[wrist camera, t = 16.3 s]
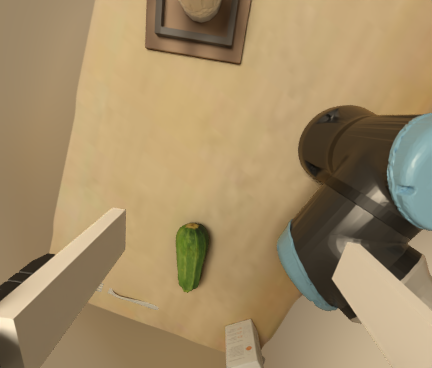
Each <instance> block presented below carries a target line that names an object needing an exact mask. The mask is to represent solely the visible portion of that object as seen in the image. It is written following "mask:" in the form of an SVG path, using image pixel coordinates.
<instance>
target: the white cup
mask: <svg viewBox="0 0 432 368" xmlns="http://www.w3.org/2000/svg"><path fill="white" fill-rule="evenodd" d="M221 1H222V0H179V2H180V4H181V5H182V7H183V9H184V11H185V14H186V15H188V16H189V17H190V18H191V19H192V20H193V21H197V22H200V23H203V22H206V21H210V20H211V19H212V18H213V17H214V16H215V15H216V14H217V13H218V10H219V8H220V6H221Z"/></svg>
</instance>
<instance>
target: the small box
mask: <svg viewBox="0 0 432 368" xmlns="http://www.w3.org/2000/svg"><path fill="white" fill-rule="evenodd" d="M225 334H226V368H264V367H263V360H262V354H261V349H260V343H259V337H258V332H257V330H256V328H255V326H254V324H253V322H252V320H251V319H248V320H244V321H241V322H238V323H234V324H231V325H228V326H225Z"/></svg>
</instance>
